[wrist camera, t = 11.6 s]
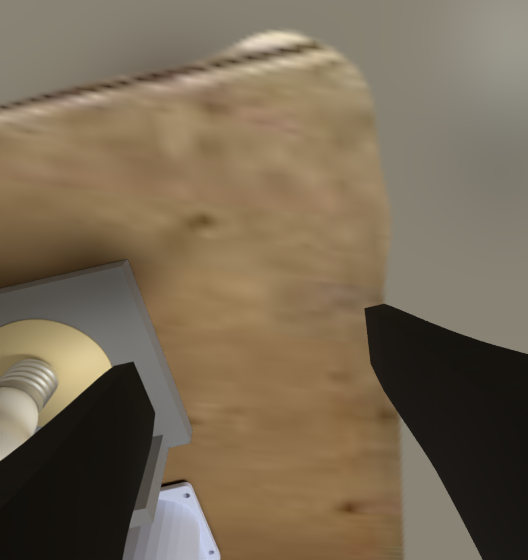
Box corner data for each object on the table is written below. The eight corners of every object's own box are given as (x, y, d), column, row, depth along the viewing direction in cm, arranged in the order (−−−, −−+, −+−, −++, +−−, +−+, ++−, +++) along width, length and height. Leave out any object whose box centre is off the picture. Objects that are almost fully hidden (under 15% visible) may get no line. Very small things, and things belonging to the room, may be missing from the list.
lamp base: (193, 431, 25) (181, 518, 19) (-13, 478, 25) (-88, 580, 19) (127, 259, 20) (84, 306, 14) (-130, 318, 20) (-280, 390, 14)
